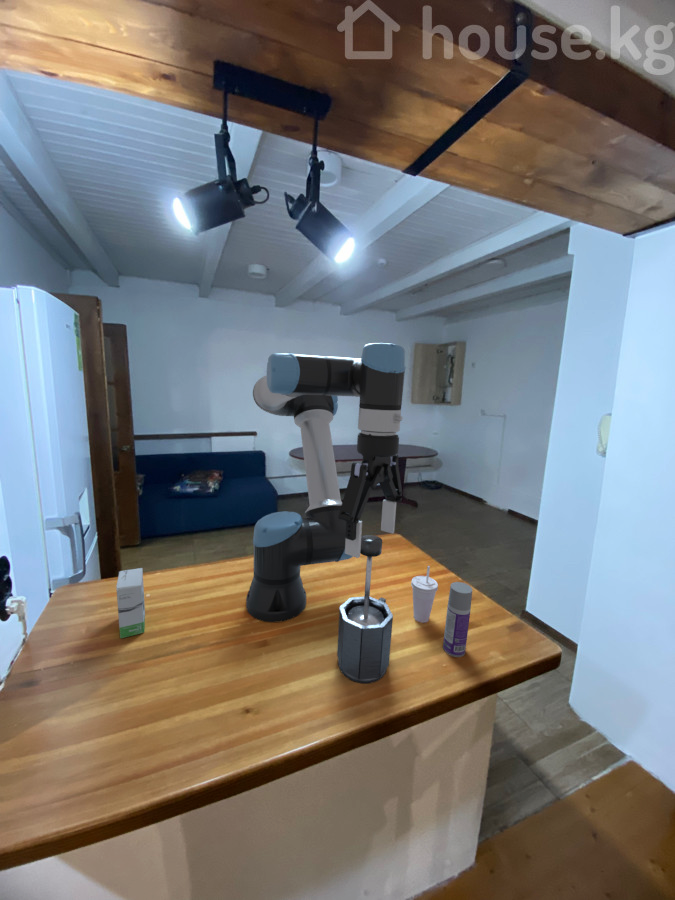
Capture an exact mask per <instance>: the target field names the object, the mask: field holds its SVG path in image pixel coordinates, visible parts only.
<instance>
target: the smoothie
mask: <svg viewBox="0 0 675 900" xmlns="http://www.w3.org/2000/svg"><path fill="white" fill-rule="evenodd" d="M426 569H427V570H426V575H417V576H414V577H412V579H411V583H410V584H411V585H410V586H411V587H412V606H413V607H412V608H413V611H412V612H413V619H414V621H416V622H418V623H423V624H424V623H428V622H430V621H429V620H430V616H431V614H432V609H433V604H434V600H435V597H436V593H437V592H438V590H439V584H438V582H437V581H436V580H435V579H434V578H432V577H430V569H431V566H430V565H427V568H426Z"/></svg>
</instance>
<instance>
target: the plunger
mask: <svg viewBox="0 0 675 900" xmlns="http://www.w3.org/2000/svg"><path fill="white" fill-rule="evenodd" d="M382 548H383V539H382V538H381V537H379V536H377V535H373V534H364V535H361V550H360V555H363V556H365V557H366V566H365V567H366V569H365V581H364V582H365V584H364V596H363V597H364V605H361V606H356V607H353V608H352V609H350V610H349V612H348V619H349V620H351V621H354V622H356V623H358V624H360V625H362V626H367V625H379V624H381V623H382V622H383V621H384V617H383V614H382V613H381V612H380V611H379V610H378V609H376V608H374V607H371V606H369V597H371V596H370V594H371V593H370V592H371V583H372V582H371V581H372V580H371V579H372V578H371V577H372V566H373V558H375V557H379V556H381V554H382V552H383V551H382Z"/></svg>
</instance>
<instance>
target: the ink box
mask: <svg viewBox="0 0 675 900" xmlns="http://www.w3.org/2000/svg"><path fill="white" fill-rule="evenodd" d="M143 571H144V570H143V567H140V568H139V567H138V568H133V569H125V570H120V571H118V576H117V577H118V578H117V582H116V586H115V589H116V600H117V614H118V617H117V618H118V629H119V638H120V639H124V638H128V637H131V636H133V637H134V636H136V635H140V634H144V633H145V629H146V628H145V626H146V624H145V621H146V611H145V609H146V608H145V607H146V606H145V591H144V590H145V589H144V573H143Z"/></svg>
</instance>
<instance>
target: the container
mask: <svg viewBox="0 0 675 900" xmlns="http://www.w3.org/2000/svg"><path fill="white" fill-rule="evenodd" d="M449 587H450V588H449V593H448V594H449V595H448V601H447V609H446V616H445V618H446V619H445V626H444V634H443V643H442V644H443V646H442V649H443V651H444V652H445V653H446V654H448V655H449V656H450V657H454V658H461V657H463V656H465V654H466V649H467V642H468V641H467V640H468V634H469V625H470V617H471V610H472V609H471V607H472V599H473V587H472V586H471V585H469V584H467V583H465V582H463V581H462V582H460V581H456V582H452V583H450V586H449Z"/></svg>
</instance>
